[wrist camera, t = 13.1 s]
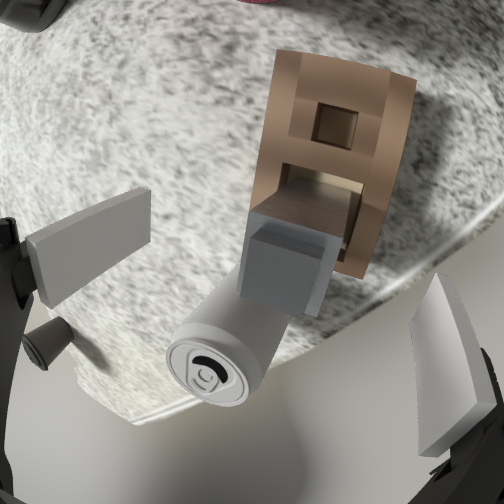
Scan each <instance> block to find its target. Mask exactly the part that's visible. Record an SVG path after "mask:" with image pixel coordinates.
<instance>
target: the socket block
mask: <svg viewBox="0 0 504 504" xmlns="http://www.w3.org/2000/svg"><path fill="white" fill-rule="evenodd" d="M416 82H417V80H415V79H412V78H409V77H406V76H403V75H400V74H397V73H393V72H390V71H387V70H383V69H380V68H376V67H372V66H368V65H364V64H360V63H356V62H352V61H347V60H343V59H338V58H333V57H328V56H322V55H316V54H310V53H303V52H296V51H288V50H279V49H277V52H276V58H275V64H274V69H273V75H272V80H271V86H270V92H269V97H268V103H267V109H266V115H265V120H264V126H263V132H262V138H261V144H260V149H259V155H258V161H257V167H256V173H255V179H254V185H253V191H252V197H251V203H250V209H249V211H250V210H251V209H253V208H254V207H255V206H257V205H258V204H259V203H261V202H262V201H264V200H265V199H266V198H268V197H269V196H271V195H272V194H273V193H275V192H276V191H278V190H279V189H280V188H282V187H283V186H285V185H286V184H288V183H289V182H290V181H292V180H293V179H295V178H296V177H298V176H300V177H304V178H308V179H312V180H315V181H319V182H323V183H326V184H330V185H333V186H337V187H340V188H344V189H347V190H351V198H350V204H349V210H348V215H347V221H346V227H345V232H344V237H343V241H342V244H341V248H340V251H339V254H338V257H337V260H336V263H335V267H334V270H333V271H336V272H340V273H343V274H346V275H349V276H352V277H355V278H359V279H362V280H363V278H364V275H365V272H366V270H367V267H368V264H369V262H370V259H371V256H372V253H373V250H374V247H375V245H376V242H377V239H378V236H379V233H380V230H381V227H382V224H383V221H384V217H385V214H386V211H387V208H388V204H389V201H390V198H391V194H392V191H393V187H394V184H395V180H396V176H397V172H398V169H399V165H400V161H401V157H402V153H403V149H404V144H405V140H406V135H407V131H408V126H409V121H410V116H411V111H412V106H413V100H414V95H415V89H416Z"/></svg>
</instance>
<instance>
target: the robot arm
mask: <svg viewBox="0 0 504 504" xmlns="http://www.w3.org/2000/svg"><path fill="white" fill-rule="evenodd" d="M66 2H67V0H0V23H3V24H5V25H8V26H10V27H13V28H15V29H17V30H20V31H22V32H28V33H37V32H40V31H42V30H43V29H45V28H46V27H47V26H48V25H49V24H50V23H51V22H52V21H53V20H54V19H55V18H56V16H57V15H58V14H59V12H60V11H61V9H62V8H63V7H64V5H65V3H66ZM150 214H151V190H148V189H144V188H140V187H139V188H136V189H133V190H131V191H128V192H125V193H123V194H120V195H118V196H115V197H113V198H110V199H108V200H105V201H103V202H101V203H98V204H96V205H93V206H91V207H89V208H86V209H84V210H82V211H80V212H77V213H75V214H73V215H71V216H68V217H66V218H64V219H62V220H60V221H58V222H55V223H53V224H51V225H49V226H47V227H45V228H43V229H41V230H39V231H37V232H35V233H33V234H31V235H29V236H27V237H25V239H26V240H25V241H23V242H21V243H20V241H19V236H18V231H17V225H16V220H15V219H14V218H12V217H6V218H1V219H0V504H26V503H24V502H22V501H20V500H18V499H17V498H15V497H14V495H13V476H12V470H11V467H10V464H9V462H8V460H7V458H6V455H5V451H4V441H5V429H6V419H7V411H8V404H9V397H10V391H11V385H12V380H13V375H14V370H15V365H16V361H17V357H18V352H19V348H20V345H21V341H22V337H23V333H24V330H25V326H26V323H27V319H28V316H29V313H30V310H31V307H32V304H33V301H34V296H33V293H32V292H33V291H34V290H36V289H37V290H38V293H39V297H40V300H41V302H42V303H44V304H45V305H46V306H47V307H49V308H50V309H53V308H54V307H55V306H57V305H58V304H60V303H61V302H62V301H64V300H65V299H66V298H68V297H69V296H71V295H72V294H73V293H75V292H76V291H78V290H79V289H80V288H82V287H83V286H85V285H86V284H88V283H89V282H90V281H92V280H93V279H95V278H96V277H98V276H99V275H101V274H102V273H104V272H105V271H106V270H108V269H109V268H111V267H112V266H114V265H115V264H117V263H118V262H120V261H121V260H123V259H124V258H126V257H127V256H129V255H131V254H132V253H134V252H135V251H137V250H138V249H140V248H141V247H143V246H144V245H146V244H148V243H149V242H150ZM410 330H411V336H412V344H413V353H414V361H415V372H416V381H417V382H416V383H417V398H418V420H419V421H418V424H419V450H418V455H419V456H425V457H439V456H440V455H442V454H443V453H444V452H445V451H447V450H448V449H449V448H450V455H451V457H450V458H449V459H448V460H446V461H445V462H444V463H442V464H441V465H440V466H438V467H437V468H435V469H434V470H432V471H431V472H430V473H429V474H430V475H432V474H433V473H435V472H436V473H435V474H434V475H433V477H432V478H431V479H430V480H429V481H428V482H427V484H426V485H425V486H424V487H423V488H422V489H421V490H420V491H419V493H418V494H417V495H416V496H415V497H414V498H413V499H412V500H411V501H410V502H409V503H408V504H504V402H503V398H502V395H501V391H500V388H499V384H498V382H497V378H496V374H495V372H494V368H493V365H492V363H491V359H490V358H489V356H488V355H487V353H486V352H485V350H484V349H483V348H480V346H479V343H478V340H477V338H476V335H475V332H474V330H473V327H472V325H471V322H470V320H469V317H468V315H467V312H466V310H465V308H464V305H463V303H462V301H461V298H460V296H459V294H458V292H457V290H456V288H455V285H454V283H453V281H452V279H451V277H448V276H445V275H443V274H440V273H435V276H434V278H433V280H432V282H431V284H430V286H429V288H428V290H427V293H426V294H425V297H424V298H423V301H422V302H421V304H420V306H419V308H418V310H417V312H416V314H415V316H414V317H413V319H412V321H411V323H410Z"/></svg>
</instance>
